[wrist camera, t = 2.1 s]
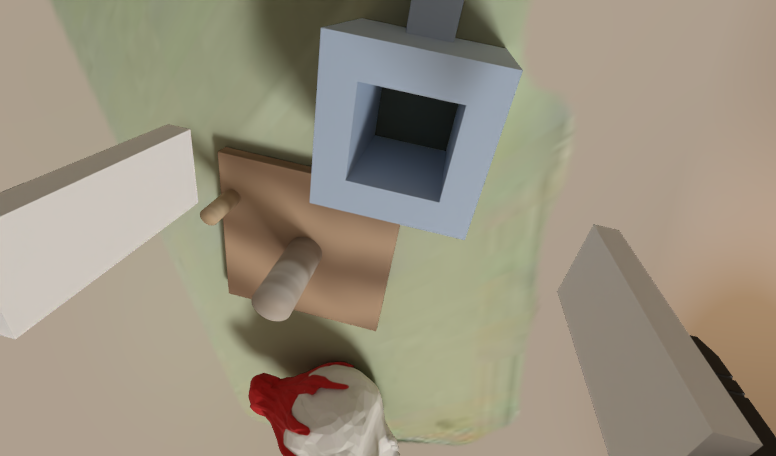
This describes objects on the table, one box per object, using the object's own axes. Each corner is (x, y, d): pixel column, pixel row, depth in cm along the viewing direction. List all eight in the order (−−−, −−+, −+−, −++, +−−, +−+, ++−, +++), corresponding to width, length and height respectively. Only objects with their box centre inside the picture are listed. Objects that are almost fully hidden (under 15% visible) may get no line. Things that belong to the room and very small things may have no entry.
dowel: (224, 187, 27) (199, 207, 24) (240, 191, 27) (216, 211, 24) (225, 201, 28) (200, 222, 25) (240, 205, 28) (218, 227, 25)
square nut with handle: (465, 181, 25) (464, 239, 19) (346, 153, 25) (309, 202, 19) (530, -30, 18) (560, -41, 13) (371, -61, 19) (328, -86, 13)
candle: (403, 437, 40) (276, 384, 42) (429, 372, 34) (279, 315, 36) (376, 535, 33) (224, 465, 35) (403, 475, 27) (216, 395, 29)
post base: (225, 146, 26) (156, 190, 21) (407, 189, 26) (390, 247, 20) (234, 285, 33) (185, 347, 28) (378, 322, 33) (358, 394, 27)
